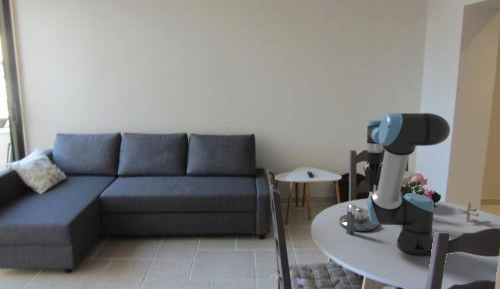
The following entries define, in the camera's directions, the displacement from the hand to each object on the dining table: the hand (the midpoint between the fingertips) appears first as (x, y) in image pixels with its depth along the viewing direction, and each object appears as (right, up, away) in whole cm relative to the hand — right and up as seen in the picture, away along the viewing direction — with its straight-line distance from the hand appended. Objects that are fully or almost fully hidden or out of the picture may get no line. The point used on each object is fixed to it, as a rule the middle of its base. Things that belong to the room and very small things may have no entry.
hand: (372, 197), depth 192 cm
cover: (-7, -11, -2) cm, 13 cm away
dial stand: (-14, -15, -12) cm, 24 cm away
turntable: (-8, -13, -2) cm, 15 cm away
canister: (+23, -7, +26) cm, 35 cm away
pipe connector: (+48, -12, +1) cm, 49 cm away
